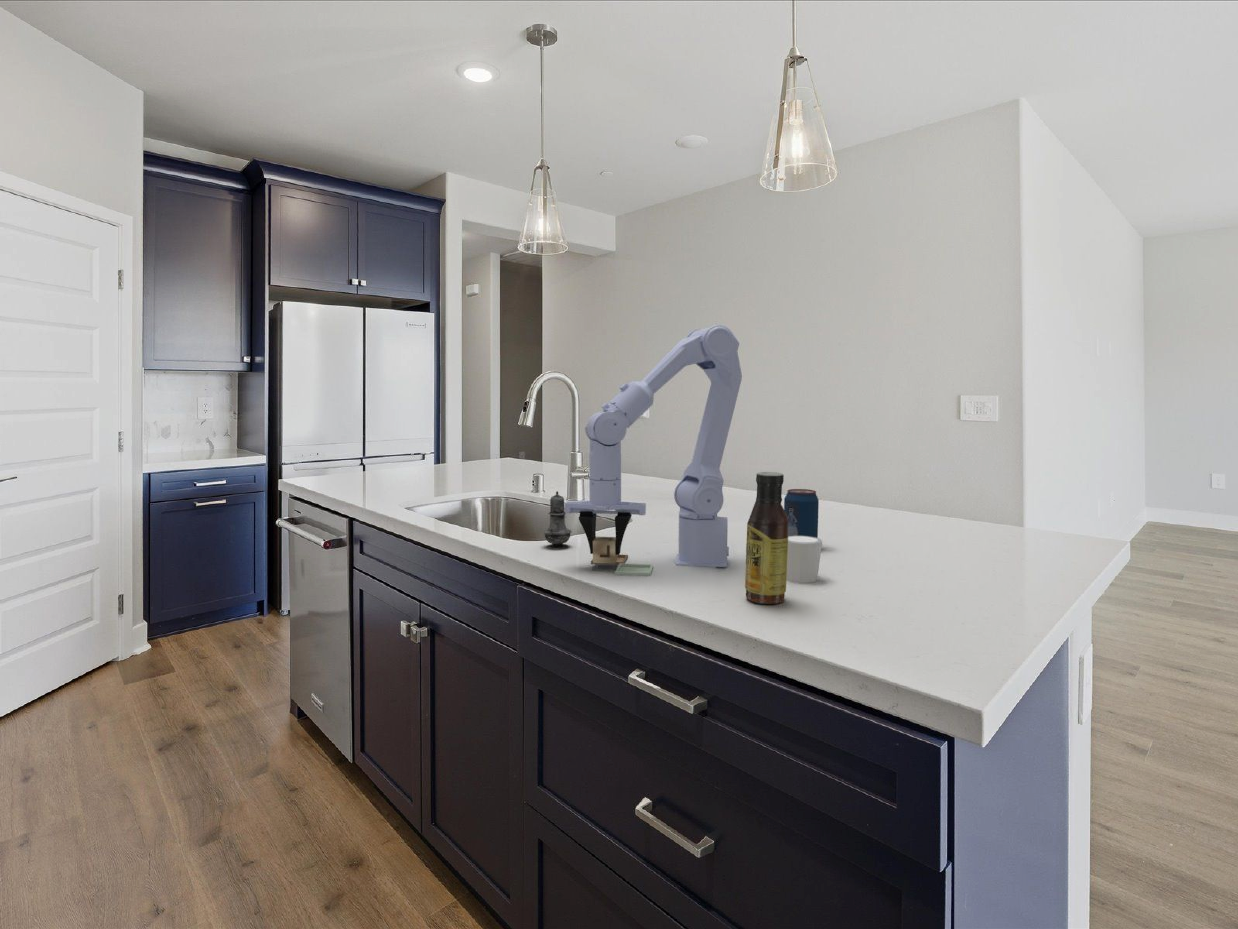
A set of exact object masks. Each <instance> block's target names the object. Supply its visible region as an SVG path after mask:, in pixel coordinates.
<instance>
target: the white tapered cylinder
mask: <svg viewBox="0 0 1238 929" xmlns="http://www.w3.org/2000/svg"><path fill="white" fill-rule="evenodd" d="M822 546H823V540H822V539H821V538H819V537H818V538H816V537H810V536H788V554H787V576H786V581H788V582H792V583H801V584H808V583H811V584H812V583H814V582H815V583H816V582H817V581H818V578H819V570H820V561H821V553H822Z"/></svg>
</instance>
